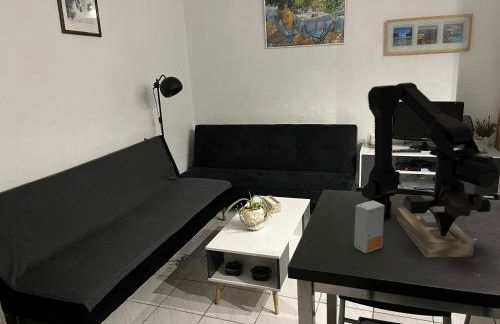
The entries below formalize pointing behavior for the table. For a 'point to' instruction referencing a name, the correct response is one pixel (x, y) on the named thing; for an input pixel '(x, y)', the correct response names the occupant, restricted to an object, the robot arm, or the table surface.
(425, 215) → the offwhite key
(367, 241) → the skincare box
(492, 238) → the table surface
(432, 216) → the grey key
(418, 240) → the wooden slotted tray
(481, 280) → the table surface
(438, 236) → the terracotta key
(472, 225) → the table surface
